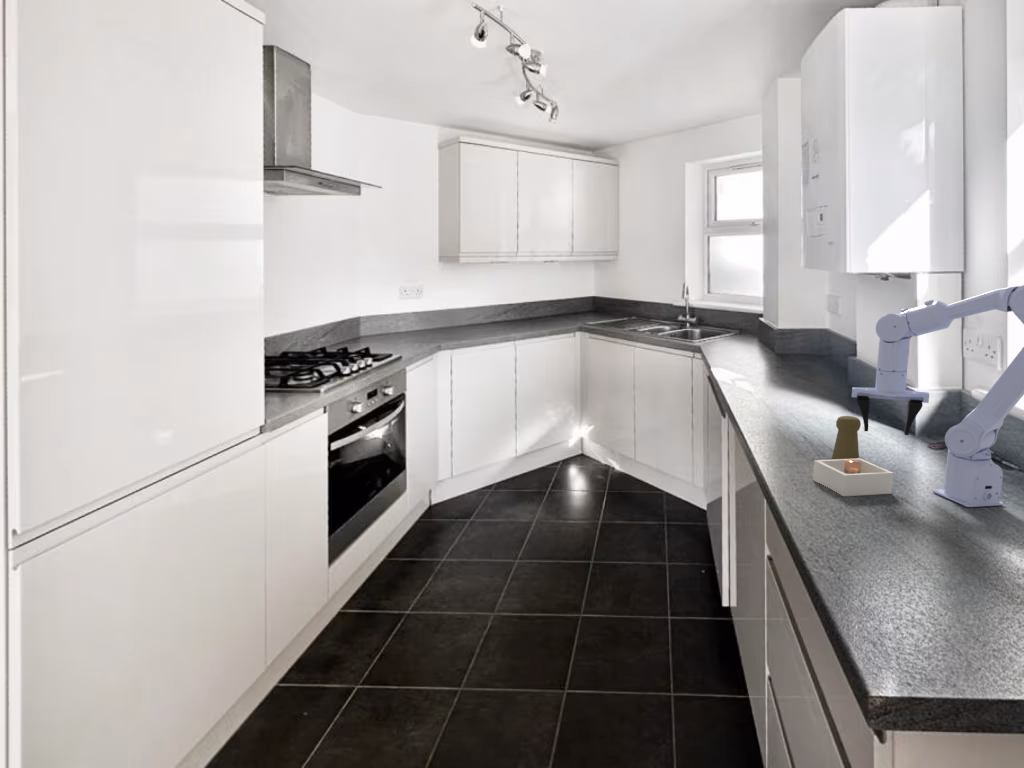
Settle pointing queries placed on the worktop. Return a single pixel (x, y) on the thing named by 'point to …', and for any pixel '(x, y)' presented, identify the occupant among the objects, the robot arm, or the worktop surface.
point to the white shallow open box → (853, 478)
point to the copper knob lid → (852, 466)
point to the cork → (846, 438)
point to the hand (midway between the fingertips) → (885, 432)
